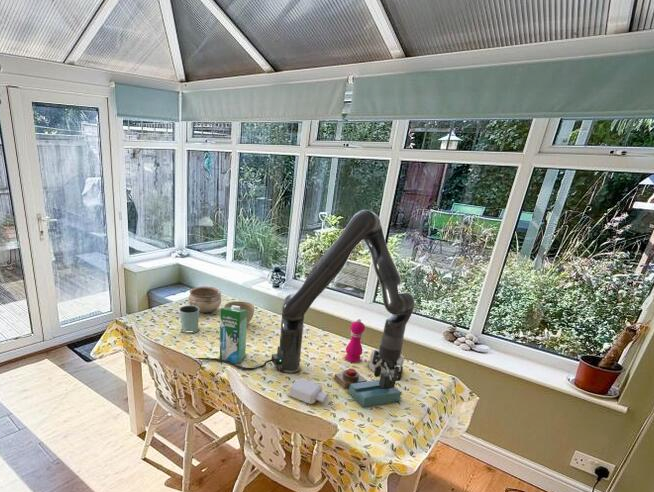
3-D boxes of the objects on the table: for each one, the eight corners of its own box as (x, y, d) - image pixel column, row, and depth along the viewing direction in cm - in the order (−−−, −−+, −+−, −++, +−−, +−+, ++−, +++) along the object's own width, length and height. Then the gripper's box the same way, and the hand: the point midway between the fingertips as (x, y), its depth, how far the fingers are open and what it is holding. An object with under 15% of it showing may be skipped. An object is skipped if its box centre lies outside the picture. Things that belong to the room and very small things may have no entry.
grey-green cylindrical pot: (203, 329, 216) (203, 307, 212) (191, 335, 208) (191, 314, 204) (187, 324, 221) (187, 303, 217) (176, 331, 213) (175, 309, 209)
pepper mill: (361, 363, 184) (368, 322, 176) (345, 361, 185) (351, 321, 178) (360, 356, 191) (366, 316, 183) (343, 354, 192) (349, 315, 184)
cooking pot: (208, 301, 254) (208, 282, 249) (231, 309, 242) (231, 290, 237) (178, 312, 237) (177, 292, 233) (200, 321, 225) (200, 300, 221)
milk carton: (245, 355, 190) (247, 305, 180) (238, 363, 182) (239, 311, 173) (227, 351, 194) (228, 301, 184) (219, 359, 186) (220, 308, 176)
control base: (363, 407, 154) (365, 396, 152) (348, 392, 162) (350, 382, 161) (399, 400, 158) (401, 390, 156) (383, 387, 166) (385, 377, 165)
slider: (382, 391, 158) (385, 376, 156) (378, 387, 161) (381, 372, 158) (389, 390, 159) (391, 375, 156) (384, 386, 161) (387, 371, 159)
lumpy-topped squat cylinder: (395, 379, 172) (399, 361, 169) (365, 369, 179) (368, 351, 176) (403, 369, 179) (406, 352, 176) (373, 360, 187) (376, 343, 183)
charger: (325, 411, 151) (288, 396, 159) (335, 399, 158) (299, 386, 166) (326, 400, 149) (289, 386, 157) (336, 389, 156) (300, 376, 164)
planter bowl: (234, 317, 232) (235, 299, 228) (259, 324, 223) (260, 305, 219) (217, 326, 220) (218, 307, 216) (243, 334, 211) (244, 314, 207)
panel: (344, 388, 165) (345, 379, 164) (334, 378, 172) (335, 370, 171) (366, 385, 168) (367, 376, 166) (355, 375, 175) (356, 367, 173)
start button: (349, 376, 167) (350, 372, 166) (345, 372, 170) (346, 369, 169) (356, 375, 168) (357, 371, 167) (352, 371, 170) (353, 368, 170)
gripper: (371, 337, 157) (364, 374, 164) (394, 354, 145) (386, 393, 151) (387, 335, 159) (380, 371, 166) (412, 352, 147) (404, 390, 153)
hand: (383, 382), depth 158 cm, fingers open, 8 cm apart
